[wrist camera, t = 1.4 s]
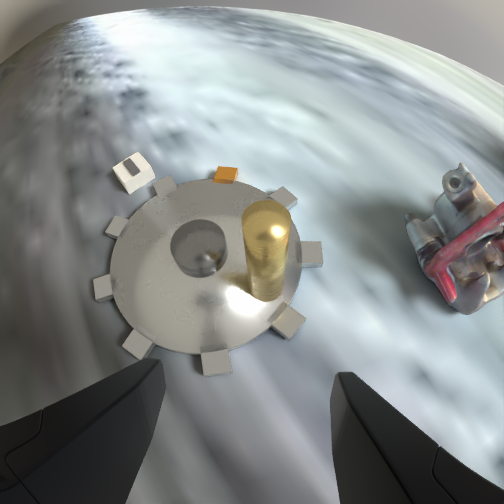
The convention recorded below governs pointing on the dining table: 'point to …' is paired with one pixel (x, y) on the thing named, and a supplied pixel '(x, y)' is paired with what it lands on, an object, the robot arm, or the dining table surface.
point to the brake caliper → (462, 243)
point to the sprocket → (207, 268)
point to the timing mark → (134, 172)
